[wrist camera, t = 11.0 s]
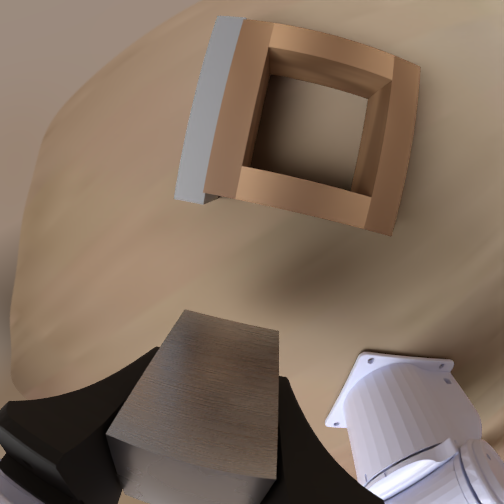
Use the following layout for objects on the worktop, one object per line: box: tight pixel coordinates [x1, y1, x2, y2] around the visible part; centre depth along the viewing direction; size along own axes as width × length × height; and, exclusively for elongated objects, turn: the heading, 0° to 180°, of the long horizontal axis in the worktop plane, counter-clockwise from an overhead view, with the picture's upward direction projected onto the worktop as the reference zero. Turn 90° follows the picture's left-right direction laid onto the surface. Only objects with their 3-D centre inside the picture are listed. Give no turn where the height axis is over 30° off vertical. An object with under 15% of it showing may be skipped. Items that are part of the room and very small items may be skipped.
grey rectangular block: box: [106, 310, 279, 504], centre depth 9 cm, size 4×4×7 cm
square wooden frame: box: [203, 19, 420, 236], centre depth 13 cm, size 9×9×4 cm
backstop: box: [174, 16, 246, 204], centre depth 14 cm, size 2×10×4 cm, turn 168°
